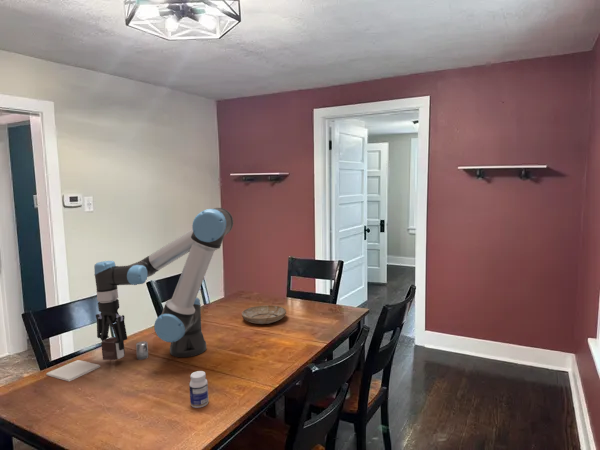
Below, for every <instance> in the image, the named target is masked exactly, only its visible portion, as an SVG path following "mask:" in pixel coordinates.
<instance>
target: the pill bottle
mask: <svg viewBox="0 0 600 450" xmlns="http://www.w3.org/2000/svg"><path fill="white" fill-rule="evenodd" d="M206 376H207V375H206V372H205V371H203V370H197V371H194V372H192V373H191V374H190V382H189V384H188V385H189V400H190V401H189V403H190V406H191V407H192V408H194V409H195V408H196V409H200V408H204V407H205V406H207V405H208V403H209V401H210V400H209V398H210V397H209V386H208V385H209V384H208V379H207V378H206Z"/></svg>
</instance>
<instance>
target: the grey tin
mask: <svg viewBox="0 0 600 450" xmlns="http://www.w3.org/2000/svg"><path fill="white" fill-rule="evenodd" d="M135 347H136V359H137V360H139V361H140V360H141V361H142V360H146V359H148V358H149V348H148V347H149V346H148V341H147V340H146V341H145V340H143V341H138V342H136V344H135Z"/></svg>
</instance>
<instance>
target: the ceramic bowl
mask: <svg viewBox="0 0 600 450" xmlns="http://www.w3.org/2000/svg"><path fill="white" fill-rule="evenodd" d="M286 314H287V309H286V308H285V307H282V306H279V305H272V304H271V305H269V304H267V305H264V304H263V305H256V306H250V307H248V308H246V309H243V310H242V311H241V317H242V318H243V319H244V321H247V322H248V323H252V324H256V325H266V324H267V325H268V324H272V323H276V322H279V321H280V320H281V319H283V318H285V316H286Z"/></svg>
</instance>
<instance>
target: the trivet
mask: <svg viewBox="0 0 600 450" xmlns="http://www.w3.org/2000/svg"><path fill="white" fill-rule="evenodd" d="M99 368H101V364H97V363H93V362H89V361H85V360H82V359H81V360H80V359H76V360H75V361H72V362H70V363H67V364H65V365H63V366H60V367H58V368H56V369H52V370H51V371H48V372H46V376H48V377H52V378H55V379H58V380H59V379H60V380H63V381H66V382H71V381H73V380H76V379H77V378H80V377H82V376H84V375H87V374H89V373H90V372H93V371H95V370H97V369H99Z"/></svg>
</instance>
